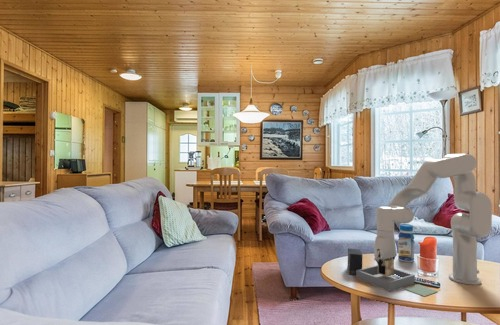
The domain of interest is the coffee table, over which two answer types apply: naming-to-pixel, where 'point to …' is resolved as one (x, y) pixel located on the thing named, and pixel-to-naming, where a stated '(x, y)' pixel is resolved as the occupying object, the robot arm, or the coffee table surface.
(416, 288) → the mat
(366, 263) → the coffee table surface
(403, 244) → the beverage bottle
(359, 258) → the small box
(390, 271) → the birch block
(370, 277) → the gray square tray
